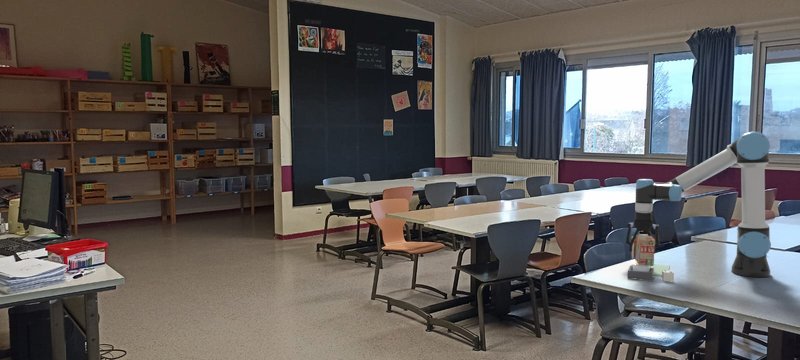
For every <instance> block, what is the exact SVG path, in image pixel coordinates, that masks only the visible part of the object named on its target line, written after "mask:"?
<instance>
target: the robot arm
mask: <svg viewBox="0 0 800 360" xmlns="http://www.w3.org/2000/svg"><path fill="white" fill-rule="evenodd" d="M770 146H771V144H770V140H769V138H768V137H767V135H765V134H764V133H762V132H760V131H748V132H745V133H743V134H742V135H740V136H739V137H738V138H737V139H736V140H735V141H733V142H732V143H730V144H728V145H727V146H726V148H725V149H724V150H721V152H719V153H717V154H715V155H713V156H711V157H710V158H708V159H706V160H704V161H702V162H701V163H699V164H697V165H696V166H694V167H692V168H690V169H689V170H687V171H685V172H683V173H682V174H680V175H678V176H676V177H675V178H672V179H670V180H669V181H667V182H665V183H663V184H662V183H655V182H654V180H653V179H651V178H639V179H637V180H636V184H635V185H636V186H635V204H634V206H635V207H634V208H635V212H634V221H633V222H628V223H627V228H628V229H627V232H626V233H627V234H626V240H625V243H626V244H627V245H629V252H630V253H631V252H632V255H631V260H635V259H634V245H633V242H634V240H635V238H636V235H637V234H639V232H645V233H646V234H647V235H648V236H651V237H653V235H652V232H651V228H653V229H654V235H655V248H656V247H659V246H660V235H659V227H660V225H659V224H654V223H653V213H652V212H653V204H654V201H669V202H680V201H681V200H682V194H683V193H684V192H686V191H688V190H689V189H691V188H693V187H695V186H697V185H698V184H701V183H702V182H703V181H706V180H707V179H710V178H711V177H713V176H715V175H717V174H719V173H721V172H722V171H724V170H726V169H727V168H729V167H731V166H733V165H735V164H737V165H738V166H740V170H741V171H740V173H741V176H740V180H741V184H740V185H741V222H740V223H738V224H737V229H736V231H737V235H736V236H737V237H736V238H737V239H736V256H735V258H734V260H733V262H732V265H731V270H730V271H731V273H733V274H736V275H740V276H742V277H743V276H744V277H752V278H768V277H770V276H771V268H770V265H769V262H768V259H767V255H768V253H769V252H770V250H771V246H772V243H771V240H770V239H771V238H770V237H771V236H770V235H771V234H770V225H769V224H768V223H766V189H765V188H766V182H765V181H766V178H765V177H766V175H765V173H766V172H765V171H766V170H765V168H766V166H767V165H768V164H769V163H770V161H769V160H770V159H769V156H770V155H769V154H770V152H769V151H770ZM633 227H635V228H636V229H635V232H634V234H633V236H632V237H633V238H632V240H631V238H630V237H631V232H632V228H633ZM630 240H631V241H630ZM655 253H656V250H655V251H654V254H655Z"/></svg>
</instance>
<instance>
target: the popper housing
mask: <svg viewBox="0 0 800 360" xmlns="http://www.w3.org/2000/svg"><path fill="white" fill-rule="evenodd" d="M632 269H633V265H630V266H629V267H628V269H627V279H630V278H636V279H635V280H639V279H642V281H649V282H650V281H651V282H652V281H653V279H654V277H653V276H655V275H654V268H653V267H650V270H649V272H643V271H633V270H632Z"/></svg>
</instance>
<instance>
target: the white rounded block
mask: <svg viewBox="0 0 800 360" xmlns="http://www.w3.org/2000/svg"><path fill="white" fill-rule="evenodd" d="M635 264H636V263H635ZM635 264H633V265H632V266H633V269H632V270H633V271H643V272H649V270H650V268H651V267H649V266H647V265H640V264H636V265H635Z"/></svg>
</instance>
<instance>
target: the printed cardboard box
mask: <svg viewBox="0 0 800 360" xmlns="http://www.w3.org/2000/svg"><path fill="white" fill-rule="evenodd" d="M630 237H631V238H630V240H632V238H633V236H630ZM655 244H656V239H655V238H654V237H653V236H652V237H651V236H648V234H647V233H646V234H644V233H643V234H641V233H640V234H639V233H638V234H637V235H636V238H635V240H634V242H633V245H634V259H633V260H635V261H636V263H638V264H640V265H647V266H651V267H653V265H654V264H655V253H654V251H655V252H656V247H655ZM630 255H631V256H632V252H630Z"/></svg>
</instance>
